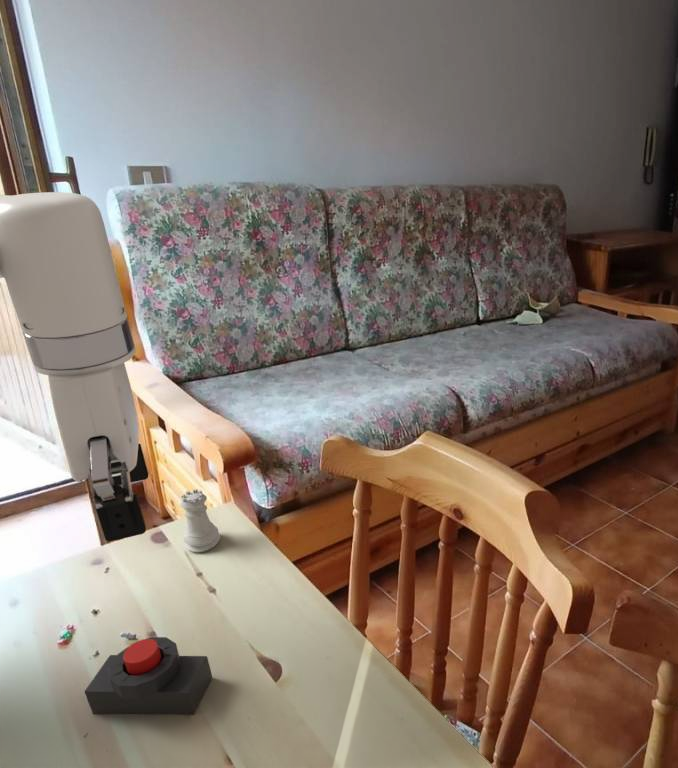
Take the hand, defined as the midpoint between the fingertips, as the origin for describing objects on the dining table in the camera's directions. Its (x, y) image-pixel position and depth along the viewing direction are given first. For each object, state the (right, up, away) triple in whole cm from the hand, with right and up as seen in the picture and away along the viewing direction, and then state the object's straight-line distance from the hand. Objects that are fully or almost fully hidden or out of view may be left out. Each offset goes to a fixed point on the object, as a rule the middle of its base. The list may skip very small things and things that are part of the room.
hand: (129, 506), depth 61 cm
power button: (+1, -16, +1) cm, 16 cm away
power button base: (+1, -20, +3) cm, 20 cm away
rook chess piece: (-5, -10, +24) cm, 27 cm away
